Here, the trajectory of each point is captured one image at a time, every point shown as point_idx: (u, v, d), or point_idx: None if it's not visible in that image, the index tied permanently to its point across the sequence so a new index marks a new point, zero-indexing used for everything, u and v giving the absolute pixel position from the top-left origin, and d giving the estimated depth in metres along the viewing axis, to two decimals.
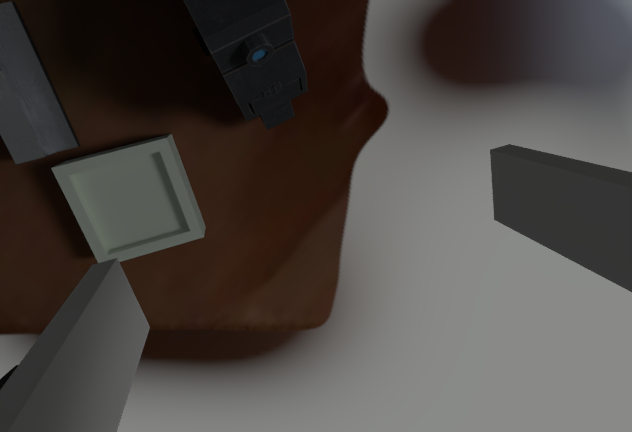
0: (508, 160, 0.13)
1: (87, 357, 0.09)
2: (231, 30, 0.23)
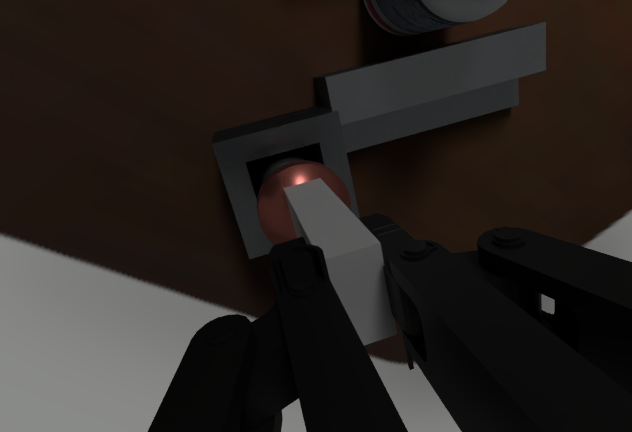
0: (307, 194, 0.14)
1: None
2: None
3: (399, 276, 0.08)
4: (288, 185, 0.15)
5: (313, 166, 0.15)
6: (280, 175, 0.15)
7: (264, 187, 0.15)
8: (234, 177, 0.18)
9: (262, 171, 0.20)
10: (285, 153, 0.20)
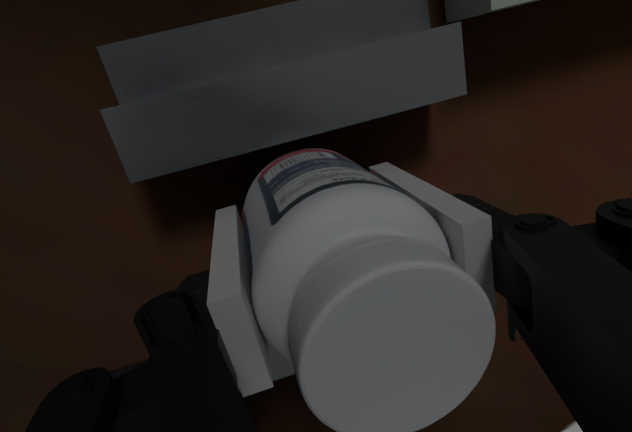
0: (378, 176, 0.14)
1: (246, 268, 0.11)
2: None
3: (512, 245, 0.08)
4: None
5: None
6: None
7: None
8: None
9: None
10: None
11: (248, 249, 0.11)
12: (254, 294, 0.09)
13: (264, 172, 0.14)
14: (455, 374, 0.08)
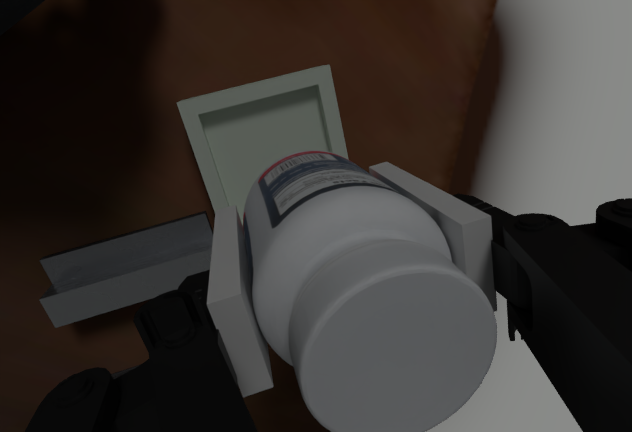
0: (378, 176, 0.14)
1: (246, 268, 0.11)
2: None
3: (512, 245, 0.08)
4: None
5: None
6: None
7: None
8: None
9: None
10: None
11: (249, 251, 0.11)
12: (255, 297, 0.09)
13: (265, 174, 0.14)
14: (456, 378, 0.08)
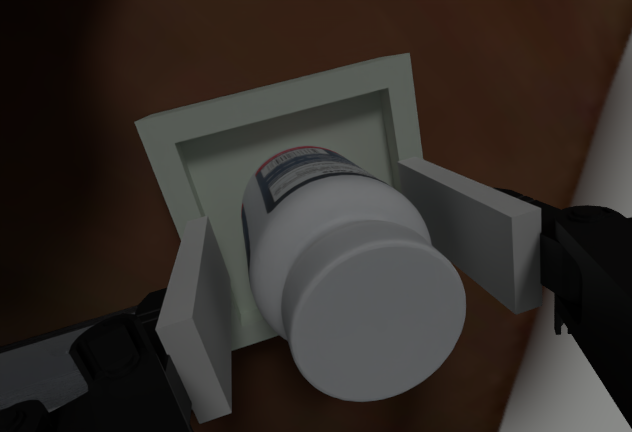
0: (408, 171, 0.14)
1: (210, 285, 0.11)
2: None
3: (564, 236, 0.08)
4: None
5: None
6: None
7: None
8: None
9: None
10: None
11: (246, 237, 0.12)
12: (252, 276, 0.10)
13: (261, 167, 0.15)
14: (430, 343, 0.09)
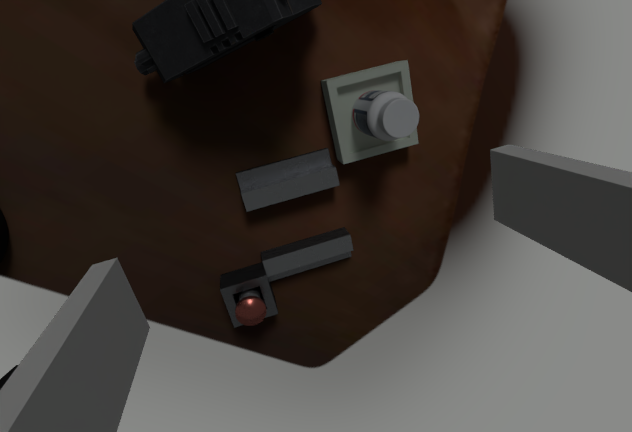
0: (508, 159, 0.13)
1: (87, 357, 0.09)
2: None
3: None
4: (244, 305, 0.48)
5: (253, 299, 0.48)
6: (242, 302, 0.47)
7: (237, 306, 0.48)
8: (228, 299, 0.50)
9: None
10: None
11: (361, 112, 0.44)
12: (368, 115, 0.42)
13: (360, 96, 0.46)
14: (411, 124, 0.40)
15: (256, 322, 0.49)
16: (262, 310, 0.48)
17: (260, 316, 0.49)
